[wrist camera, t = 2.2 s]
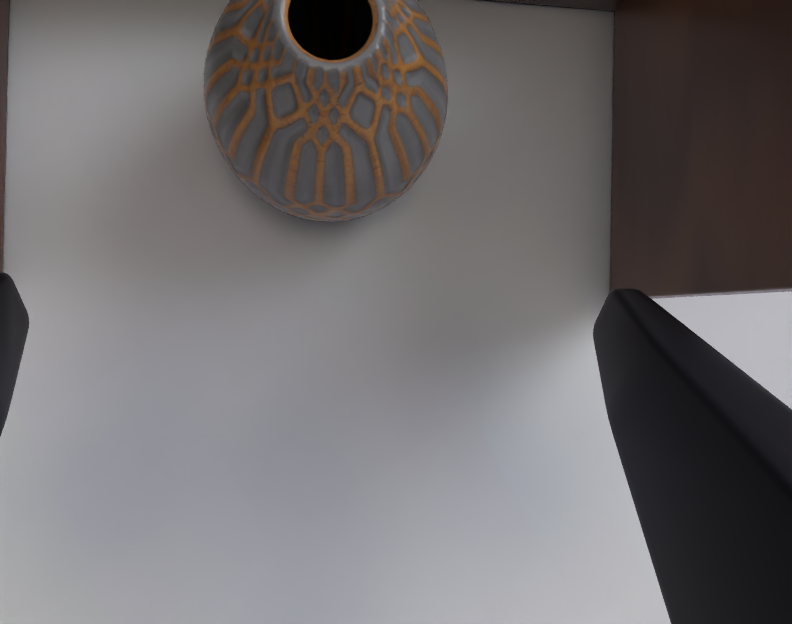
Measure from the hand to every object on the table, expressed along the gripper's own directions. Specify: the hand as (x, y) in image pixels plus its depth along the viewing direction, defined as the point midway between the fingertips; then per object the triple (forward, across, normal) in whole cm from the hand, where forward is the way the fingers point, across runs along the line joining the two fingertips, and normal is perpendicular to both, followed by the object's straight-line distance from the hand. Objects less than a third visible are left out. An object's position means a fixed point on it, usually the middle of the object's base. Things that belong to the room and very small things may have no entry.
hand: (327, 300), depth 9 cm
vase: (+13, 0, +4) cm, 14 cm away
